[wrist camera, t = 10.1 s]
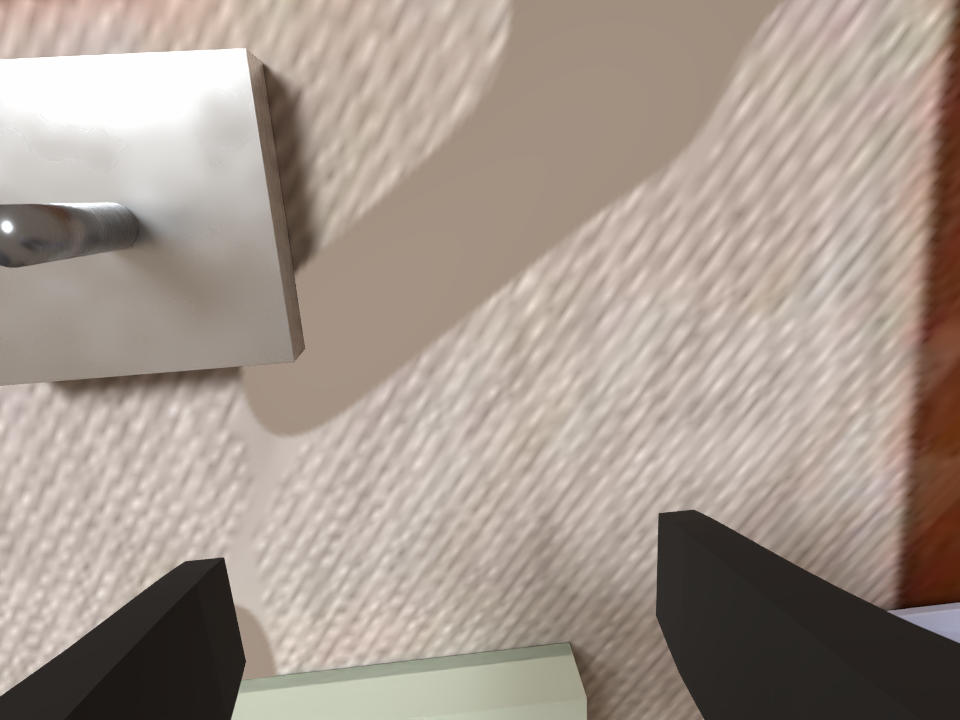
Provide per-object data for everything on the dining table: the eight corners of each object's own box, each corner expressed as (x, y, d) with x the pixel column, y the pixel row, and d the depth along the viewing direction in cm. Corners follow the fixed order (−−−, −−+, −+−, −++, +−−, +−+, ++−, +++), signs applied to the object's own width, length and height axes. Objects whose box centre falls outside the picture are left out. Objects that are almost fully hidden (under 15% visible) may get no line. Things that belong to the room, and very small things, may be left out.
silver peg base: (262, 62, 16) (178, -7, 10) (305, 348, 18) (253, 412, 13) (-51, 77, 15) (-306, 13, 10) (32, 370, 17) (-140, 445, 12)
